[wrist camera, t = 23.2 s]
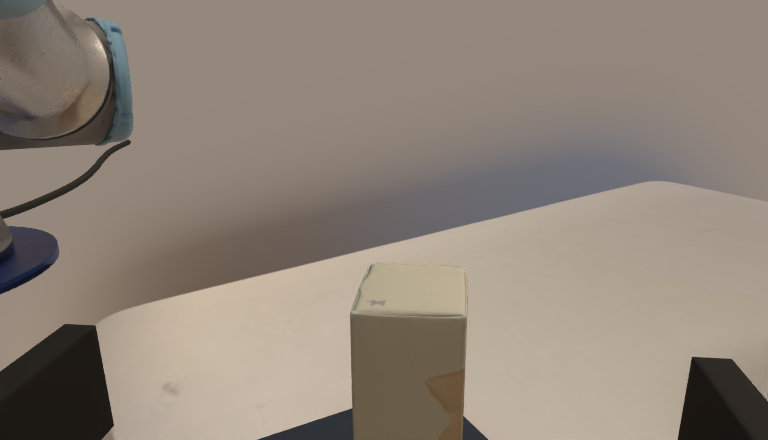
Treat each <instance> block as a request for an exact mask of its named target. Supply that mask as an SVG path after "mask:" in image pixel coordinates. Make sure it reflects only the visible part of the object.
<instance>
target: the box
mask: <svg viewBox="0 0 768 440" xmlns="http://www.w3.org/2000/svg"><path fill="white" fill-rule="evenodd" d="M467 311H468V286H467V274H466V269H465V268H462V267H455V266H439V265H416V264H394V263H375V264H371V265H370V266H369V267H368V269H367V271H366V273H365V275H364V278H363V280H362V283H361V285H360V287H359V290H358V293H357V295H356V298H355V301H354V304H353V306H352V309H351V312H350V324H351V371H352V406H353V440H462V436H463V411H464V385H465V358H466V331H467Z"/></svg>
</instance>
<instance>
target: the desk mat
mask: <svg viewBox="0 0 768 440" xmlns="http://www.w3.org/2000/svg"><path fill="white" fill-rule="evenodd" d="M258 440H353V408H352V409H349V410H346V411H343V412H340V413H337V414H334V415H331V416H328V417H325V418H322V419H319V420H316V421H313V422H310V423H307V424H304V425H301V426H298V427H295V428H291V429H288V430H285V431H282V432H279V433H276V434H273V435H270V436H267V437H264V438H261V439H258ZM462 440H488V439H487V438H486V437H485V436H484V435H483V434H482V433H481V432H480V431H479V430H477V429H476V428H475V427H474V426H473V425H472V424H471V423H470V422H469V421H468V420H467V419H466V418H465V417H464V416H463V436H462Z"/></svg>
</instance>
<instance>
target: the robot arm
mask: <svg viewBox="0 0 768 440" xmlns="http://www.w3.org/2000/svg"><path fill="white" fill-rule="evenodd" d="M132 130H133V114H132V93H131V82H130V74H129V66H128V59H127V53H126V47H125V42H124V39H123V36H122V31H121V29H120V27H119V26H118V25H117V24H116V23H114V22H112V21H109V20H100V19H97V18H86V19H85V20H82V19H81V18H80V17H79V16H78V15H76V14H75V13H73V12H72V11H70V10H68V9H67V8H65V7H63V6H61V5H59V4H57V3H54V2H52V0H0V150H9V149H25V148H41V147H58V146H72V145H73V146H74V145H90V144H95V145H98V146H102V145H106V144H107V143H111V142H119V141H123V140H126V139H127V138H128V137H129V136H130V135H131V133H132ZM130 143H131V141H130V140H126V141H124V142H122V143H120V144H117V145H115V146H113V147H112V148H110V149H109V150H107V151H106V152H105V153H104V154H103V155H102V156H101V157H100V158H99V159H98V160H97V161H96V163H95V164H94V165H93V166H92V167H91V168H90V169H89V170H88V171H87V172H86V173H85V174H83V175H82V176H80V177H79V178H78V179H76V180H74V181H73V182H71V183H69V184H67V185H66V186H63V187H62V188H59V189H57V190H55V191H53V192H51V193H48V194H46V195H44V196H41V197H39V198H37V199H34V200H32V201H29V202H27V203H24V204H21V205H19V206H16V207H13V208H10V209H7V210H3V211H0V263H2V262H3V261H5V260H6V259H7V258H8V257H9V256H10V255H11V254H12V253H13V251H14V244H13V240H12V235H11V231H10V229H9V228H8V226H7V225H6V223H5V222H4V220H3V219H4V218H7V217H11V216H14V215H16V214H19V213H22V212H25V211H27V210H30V209H32V208H35V207H37V206H39V205H42V204H44V203H46V202H48V201H51V200H53V199H55V198H57V197H59V196H61V195H64V194H66V193H67V192H69V191H71V190H73V189H75V188H76V187H78V186H79V185H81V184H82V183H84V182H85V181H87V180H88V179H89V178H90V177H91V176H93V174H94V173H95V172H96V171H97V170H98V169H99V168H100V167H101V165H102V164H103V162H104V161H105V160H106V159H107V158H108V157H109V156H110V155H111V154H112V153H114V152H115V151H117V150H119V149H121V148H123V147H125V146H127V145H129V144H130ZM113 426H114V423H113V418H112V412H111V407H110V401H109V396H108V391H107V385H106V380H105V374H104V369H103V363H102V358H101V353H100V347H99V342H98V336H97V331H96V326H93V325H73V324H65V325H63V326H62V327H60V328H59V329H58V330H56V331H55V332H54V333H52V334H51V335H49V336H48V337H47V338H45V339H44V340H43V341H41V342H40V343H39V344H37V345H36V346H35V347H33V348H32V349H30V350H29V351H28V352H26V353H25V354H24V355H22V356H21V357H20V358H18V359H17V360H16V361H14V362H13V363H11V364H10V365H9V366H7V367H6V368H5V369H3V370H2V371H1V372H0V440H102V438H103V437H104V436H105V435H106V434H107V433H108V432H109V431H110V429H111V428H112V427H113ZM678 440H768V401H767V400H766V399H765V398H764V397H763V395H762V394H761V393H760V392H759V391H758V390H757V388H756V387H755V386H754V385H753V384H752V382H751V381H750V380H749V379H748V378H747V376H746V375H745V374H744V373H743V372H742V371H741V369H740V368H739V367H738V366H737V365H736V363H735V362H734V361H733V360H732V359H720V358H701V357H692V360H691V366H690V372H689V378H688V383H687V389H686V395H685V401H684V406H683V412H682V418H681V424H680V429H679V435H678Z"/></svg>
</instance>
